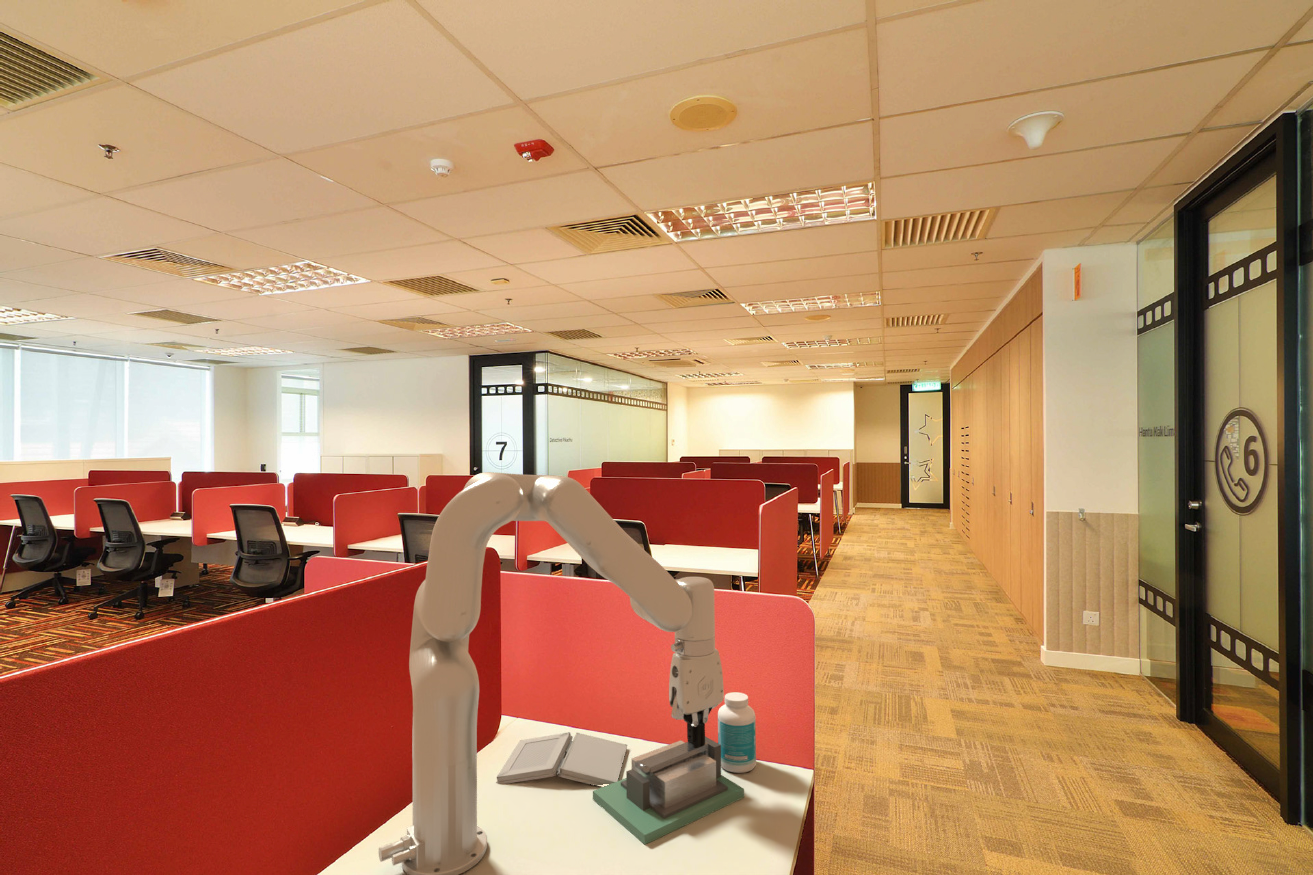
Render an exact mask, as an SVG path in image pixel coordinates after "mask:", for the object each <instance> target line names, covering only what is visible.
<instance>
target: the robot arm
mask: <svg viewBox="0 0 1313 875" xmlns="http://www.w3.org/2000/svg"><path fill="white" fill-rule="evenodd" d="M465 483H466V484H465V486H464V487H463V489H462V490H461V491H459V492H458V493H457V494H456V495H455V496H454V497H453V498H451V500H449V502H448V503H447V504H446V505H445V507H444V508H443V509H442V511H441V512H440V514H439V515H438V517H437V519H436V521H435V524H434V525H433V529H432V532H431V537H430V543H429V549H428V559H427V563H426V572H425V579H424V580H423V581H422V582H421V583H420V586H419V587H418V589H417V591H416V594H415V599H414V604H413V611H412V612H413V614H412V624H411V636H410V647H409V662H408V666H409V668H408V670H409V676H410V683H411V684H410V685H411V690H412V692H411V693H412V730H411V731H412V733H411V734H412V736H411V738H412V742H411V743H412V745H411V748H412V750H411V751H412V755H411V757H412V825H410V826H408V827H406V835H403V836H401V837H400V840H397V841H394V842H390V843H388V844H385V845H381V846H379V847H378V859H379V861H380V863H382V862H384V861H387V860H389V859H391V862H392V863H391V864H392V866H396V865H399V864H401V867H402V870H403V871H404V872H405V873H406V874H407V875H461V874H462V873H466V871H468V870H470V869H472V868H473V867H475V865H477V864H478V863H479V862H480V861H481V860H482V859H483V857H484V856H485V855H486V852H487V849H488V835H487V833H486V832H485V831H484V830H483V828H481V827H480V826H478V777H477V776H478V768H477V767H478V748H477V746H478V744H477V743H478V742H477V741H478V740H477V738H478V736H477V735H478V734H477V732H478V729H477V728H478V727H477V726H478V711H479V710H478V708H479V699H480V680H479V674H478V670H477V667H476V664H475V662H474V660H473V659H472V657H471V655H470V653H469V644H470V642H469V641H470V634H471V633H472V632H473V631H474V629H475V628H476V626H477V624H478V621H479V619H480V615H481V607H482V603H481V602H482V587H483V570H484V563H485V557H486V556H485V555H486V550H487V546H488V543H489V541H490V539H491V537H492V536H493V535H494V533H495V532H496V531H497V530H498V529H499V528H501V527H503V526H505V525H507V524H509V523H510V522H513V521H515V522H517V521H518V522H547V523H548V524H549V525H550V527H551V528H553V530H554V531H555V532H557V533H558V535H559V536H560V537H561V538H562V539H563V540H564V541H565V542H566V543H567V544H568V545H569V546H570V547H571V548H572V549H573V550H574V551H575V552H576V553H577V554H578V555H579V557H581V559H583V561H584V562H585V563H586V564H587V565H588V566H589V567H590V568H591V569H592V570H593V571H595V572H596V573H597V574H598V575H599V576H601V577H603V578H604V579H606V580H607V581H609V582H610V583H612V584H613V585H615V586H617V587H618V589H620V590H621V591H623V592H624V593H625V594H626V595H627V596H628V597H629V602H630V603H629V604H630V606H631V608H632V610H633V611H634V613H635V614H636V615H637V616H638V617H640V618H641V619H643V620H644V621H646V622H648V623H650V624H652V625H653V626H655V627H656V628H657V629H659V630H661V631H664V632H667V633H674V643H673V644H671V645H670V648H671V650H670V651H672V652H673V654H672V657H671V662H670V663H671V664H670V670H669V680H668V681H669V683H668V699H669V700H668V701H669V705H670V707H671V718H673V719H675V720H683V721H684V722H685V723H686V727H687V728H686V733H687V734H686V735H687V736H686V738H687V742H689V743H691V744H693V745H694V746H696V747H698V748H699V747H701V746H704V745H705V736H706V723H708V721H709V715H710V713H711V712H712V710H713V709H715V708H716V707H718V706H719V705H720V704H722V702H723V701H724V699H725V694H724V693H725V692H724V691H725V690H724V689H725V688H724V676H723V668H722V660H721V656H720V652H719V650H718V649H717V648H716V627H715V626H716V621H715V620H716V619H715V615H716V614H715V610H716V608H715V586H714V583H713V581H712V580H711V579H710V578H707V577H705V576H704V577H702V576H685V577H684V576H683V577H681V578H679V579H677V578H676V579H675V578H674V576H672V574H670V573H669V572H668V570H666V569H665V567H663V566H662V564H660V563H659V562H658V561H657V560H656V559H655V558H654V557H653V556H651V555H650V553H648V552H647V551H646V550H644V548H643V547H642V546H641V545H640V544H639V543H638V542H637V541H636V540H634V539H633V537H631V536H630V535H629V534H628V533H627V532H626V531H625V530H624V529H623V528H622V527H621V526H620V525H619V524H618V522H616V520H615V519H613V517H612V516H611V515H610V514H609V513H608V511H606V510H605V509H604V508H603V506H602V505H601V504H600V503H599V502H598V501H597V500H596V499H595V498H594V496H593V495H592V494H591V493H590V492H589V491H588V490H587V489H586V488H585V487H584V486H583V485H582V484H581V483H580V482H579V481H577V480H575V478H571V477H570V476H569V477H568V476H563V475H562V476H561V475H552V474H551V475H549V474H548V475H547V474H544V475H543V474H522V473H521V474H519V473H505V472H493V471H492V472H491V471H484V472H480V473H478V474H475V475H474V476H473V477H471V478H469V480H468V481H467V482H465Z"/></svg>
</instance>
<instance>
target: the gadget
mask: <svg viewBox="0 0 1313 875" xmlns="http://www.w3.org/2000/svg"><path fill="white" fill-rule="evenodd" d="M571 734H572V733H571V732H570V731H569V732H564V733H558V734H557V733H556V734H550V735H545V736H539V737H538V736H537V737H533V738H532V737H531V738H526V739H521V740H519V741H518V742H517V745H516V746H515V748H514V750H513V751H512V752H511V754H510V756H509V757H508V758H507V760H506V762H505V763H504V764H503V766H502V768H501V769H500V771H499V772H498V774H497V776H496V782H495V783H496V784H512V783H518V782H524V781H525V782H526V781H531V780H532V781H533V780H537V779H538V780H539V779H545V778H551V777H555V776H557V777H560V778H563V779H567V780H571V781H575V782H579V783H583V784H587V785H590V784H591V786H594V785H603V784H612V783H615V782H617V781H619V779H618V778H619V777H620V774H621V771H622V768H621V767H623V764H622V763H624V759H625V757H624V756H626V753H625V752H627V748H628V744H624V743H621V742H617V741H613V740H609V739H605V738H600V737H597V736H592V735H588V734H584V733H580V732H576V733H575V735H574V738H573V735H571ZM556 774H557V775H556ZM593 784H594V785H593Z"/></svg>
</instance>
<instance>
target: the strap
mask: <svg viewBox="0 0 1313 875" xmlns="http://www.w3.org/2000/svg"><path fill="white" fill-rule="evenodd" d="M700 752H702V753H703V754H705V755H707V756H708V757H709V743H707V742H705V745H704V746H701V747H699V748H698V747H696V746H694V745H693V744H691V743H689V742H688V741H686V742H685V743H683V744H681V745H678V746H676V747H673V748H671V749H668V750H665V751H663V752H660V753H658V754H655V755H653V756H650V757H648V758H645V759H643V760H640V761H639V760H638V761H636V763H635V767H636V768H638V769H639V770H640V771H642V772H643V773H645V774H646V775H649V774H650V773H652V772H654V771H657V770H659V769H662V768H664V767H666V766H669V765H671V764H674V763H676V762H679V761H681V760H683V759H686V758H688V757H691V756H693V755H695V754H698V753H700Z"/></svg>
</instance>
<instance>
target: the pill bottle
mask: <svg viewBox="0 0 1313 875" xmlns="http://www.w3.org/2000/svg"><path fill="white" fill-rule="evenodd" d="M723 701H724V704H723V705H722V706H720V707H719V709H718V711H717V735H718V736H717V743H718V744H720V745H721V769H724V770H725V771H728V772H730V773H736V774H742V773H747V772H751V771H752V770H753V769H754V768H756V764H757V744H756V743H757V740H756V739H757V738H756V737H757V736H756V735H757V734H756V732H757V731H756V713H755V710H754V708H752V707H751V706H750V705H748V704H749V696H748V694H746V693H743V692H738V691H737V692H733V691H732V692H727V693H726V694H724V700H723Z"/></svg>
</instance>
